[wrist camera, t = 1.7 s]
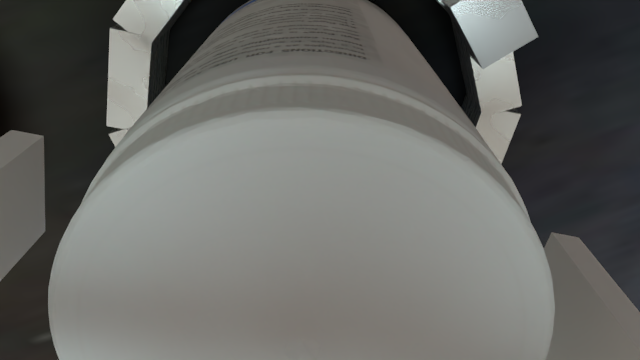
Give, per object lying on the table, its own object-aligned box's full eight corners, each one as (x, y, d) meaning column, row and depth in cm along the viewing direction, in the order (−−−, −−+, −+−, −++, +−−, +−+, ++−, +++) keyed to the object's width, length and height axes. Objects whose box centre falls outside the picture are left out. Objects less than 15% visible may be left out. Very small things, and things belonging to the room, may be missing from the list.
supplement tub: (169, 145, 24) (-26, 429, 11) (251, -65, 20) (105, -26, 7) (361, 227, 26) (397, 558, 12) (470, 49, 22) (689, 254, 9)
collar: (469, -179, 18) (504, -201, 15) (534, 200, 25) (569, 248, 21) (49, -20, 21) (-9, -7, 17) (208, 286, 27) (190, 343, 24)
